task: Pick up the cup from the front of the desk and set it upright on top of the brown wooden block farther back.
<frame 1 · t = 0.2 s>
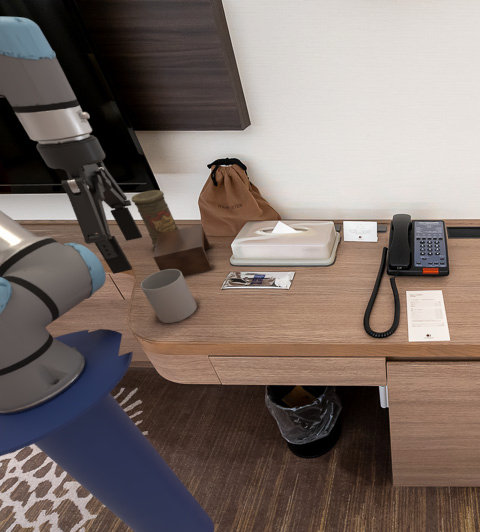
hand: (129, 253, 66), 22 cm above the table, tool pointing down, fingers open, 13 cm apart
container: (170, 246, 114), on the table
brown wooden block: (189, 262, 105), on the table
cup: (178, 312, 85), on the table
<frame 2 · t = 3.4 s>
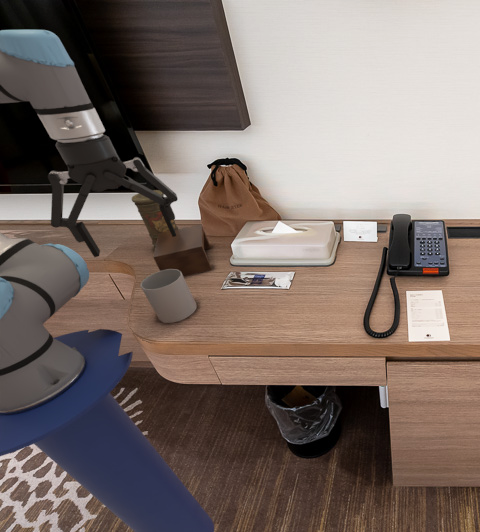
hand: (137, 243, 71), 21 cm above the table, tool pointing down, fingers open, 13 cm apart
nothing on the table moved.
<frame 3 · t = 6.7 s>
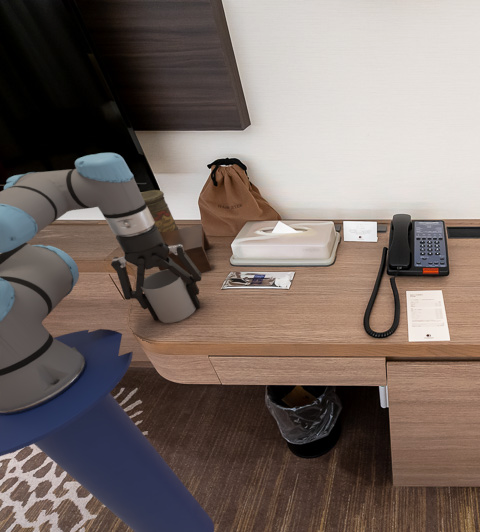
hand: (177, 310, 85), 0 cm above the table, tool pointing down, fingers closed on cup, 8 cm apart
cup: (178, 312, 85), on the table, touching gripper
everything else where it was.
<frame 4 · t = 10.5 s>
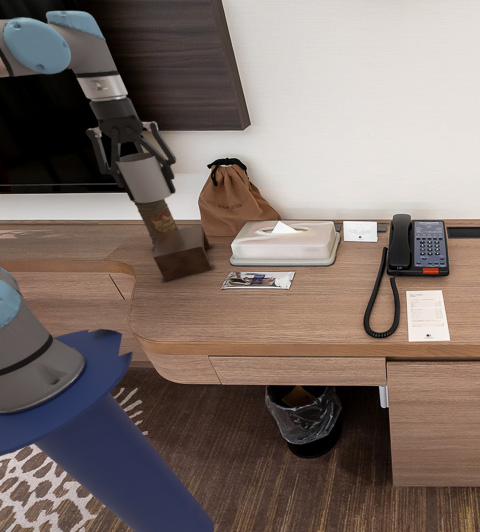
hand: (154, 195, 88), 23 cm above the table, tool pointing down, fingers closed on cup, 8 cm apart
cup: (154, 197, 88), point 23 cm above the table, touching gripper
everything else where it was.
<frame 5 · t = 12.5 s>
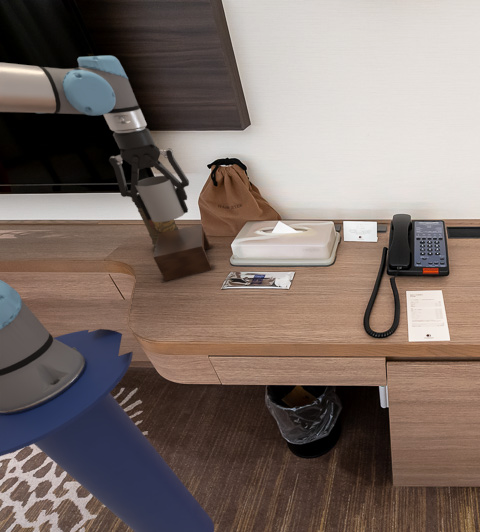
hand: (168, 214, 96), 16 cm above the table, tool pointing down, fingers closed on cup, 8 cm apart
cup: (169, 216, 96), point 16 cm above the table, touching gripper
everything else where it was.
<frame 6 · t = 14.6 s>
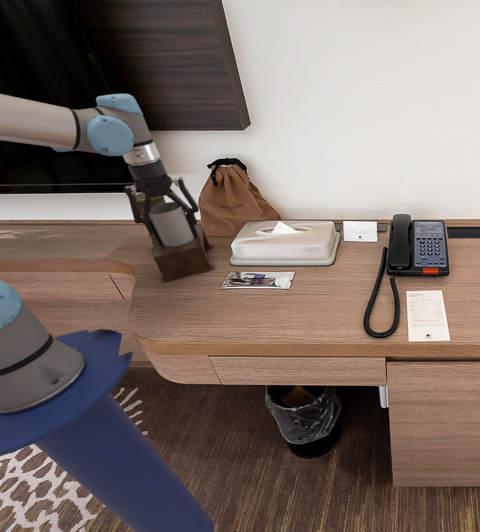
hand: (179, 238, 100), 8 cm above the table, tool pointing down, fingers closed on cup, 8 cm apart
cup: (179, 239, 101), point 8 cm above the table, touching gripper, brown wooden block
everything else where it was.
when the fingers open (8 cm above the table, at t = 14.8 s): cup stays where it is, resting on brown wooden block.
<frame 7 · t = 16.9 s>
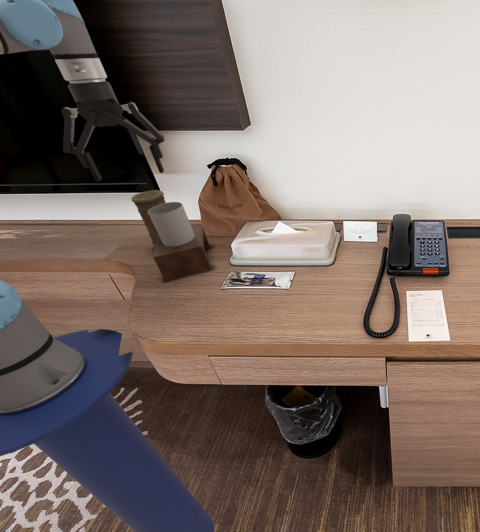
hand: (131, 175, 87), 28 cm above the table, tool pointing down, fingers open, 13 cm apart
cup: (179, 239, 101), point 8 cm above the table, touching brown wooden block
everything else where it was.
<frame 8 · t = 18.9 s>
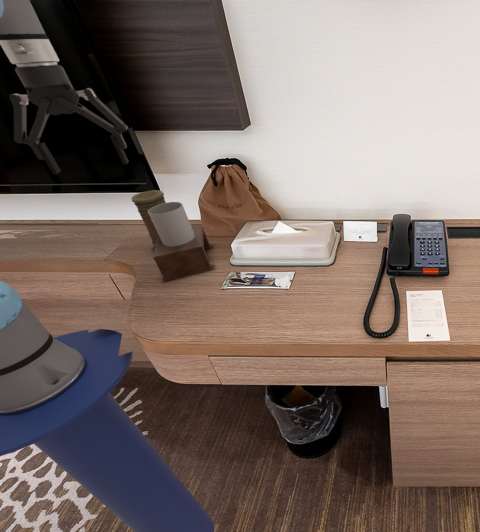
hand: (92, 168, 82), 32 cm above the table, tool pointing down, fingers open, 13 cm apart
nothing on the table moved.
at the end: cup inside the target area on the brown wooden block (0.0 cm from its centre), point 7.8 cm above the brown wooden block's base; cup tilted 0°; the gripper is holding nothing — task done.
